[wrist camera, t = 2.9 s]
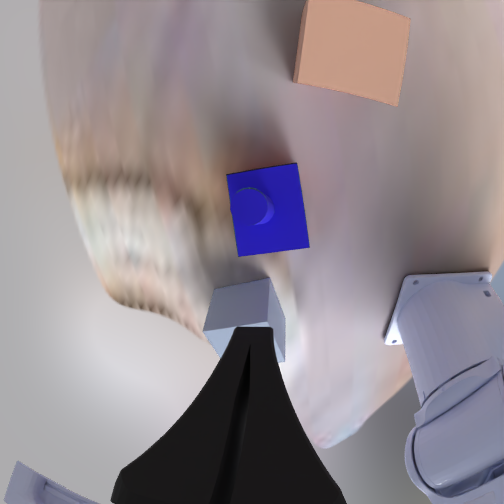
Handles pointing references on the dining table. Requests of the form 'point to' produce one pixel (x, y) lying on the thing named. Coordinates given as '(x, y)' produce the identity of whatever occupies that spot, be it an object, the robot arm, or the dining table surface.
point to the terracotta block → (352, 49)
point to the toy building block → (268, 210)
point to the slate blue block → (245, 314)
